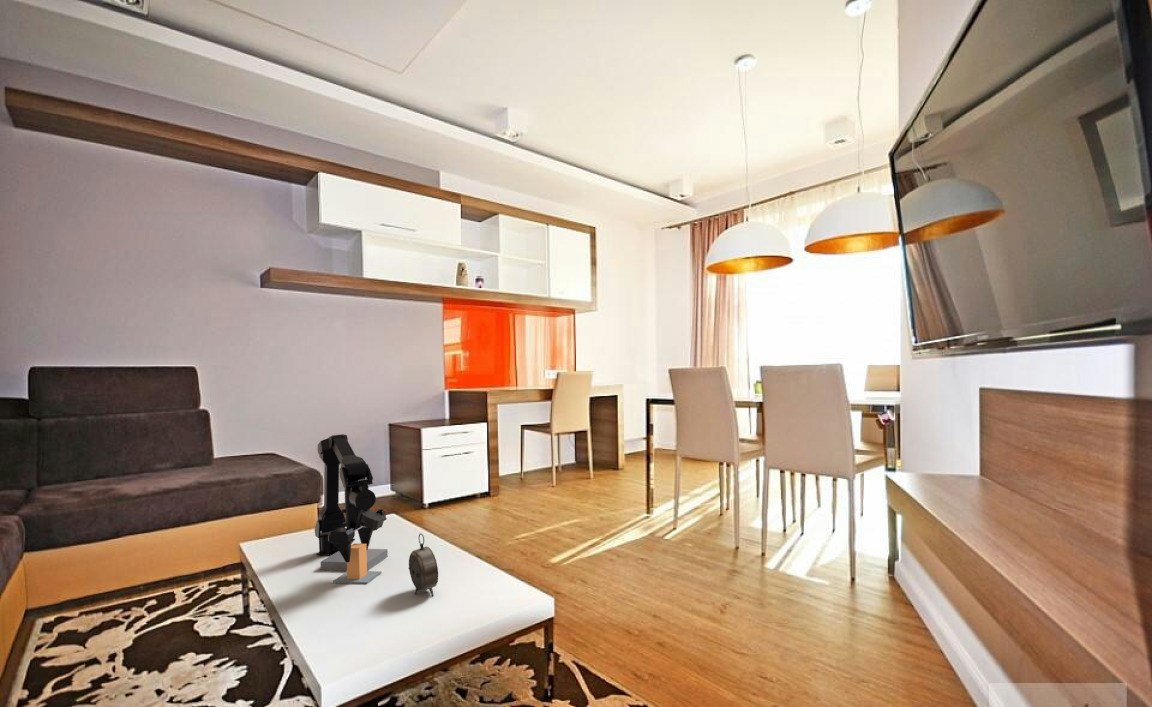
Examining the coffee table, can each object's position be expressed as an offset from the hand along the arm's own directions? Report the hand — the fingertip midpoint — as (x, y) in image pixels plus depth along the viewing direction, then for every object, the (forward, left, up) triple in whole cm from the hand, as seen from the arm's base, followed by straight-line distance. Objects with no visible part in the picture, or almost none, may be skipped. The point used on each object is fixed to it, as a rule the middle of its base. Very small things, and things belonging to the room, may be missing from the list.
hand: (356, 556), depth 156 cm
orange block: (0, 0, -6) cm, 6 cm away
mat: (0, 0, -6) cm, 6 cm away
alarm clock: (+25, -8, -7) cm, 27 cm away
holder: (-8, +12, -6) cm, 16 cm away
